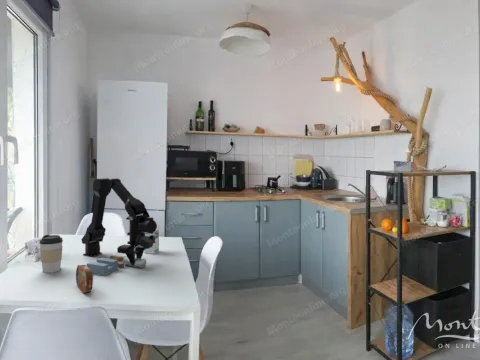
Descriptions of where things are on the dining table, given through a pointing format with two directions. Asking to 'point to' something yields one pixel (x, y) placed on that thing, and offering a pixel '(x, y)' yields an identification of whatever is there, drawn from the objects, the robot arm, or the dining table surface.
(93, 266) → the v block
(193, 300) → the dining table surface
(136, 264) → the axle
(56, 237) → the coffee cup
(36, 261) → the dining table surface
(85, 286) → the tin
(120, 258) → the guide channel
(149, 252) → the syrup box
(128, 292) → the dining table surface
